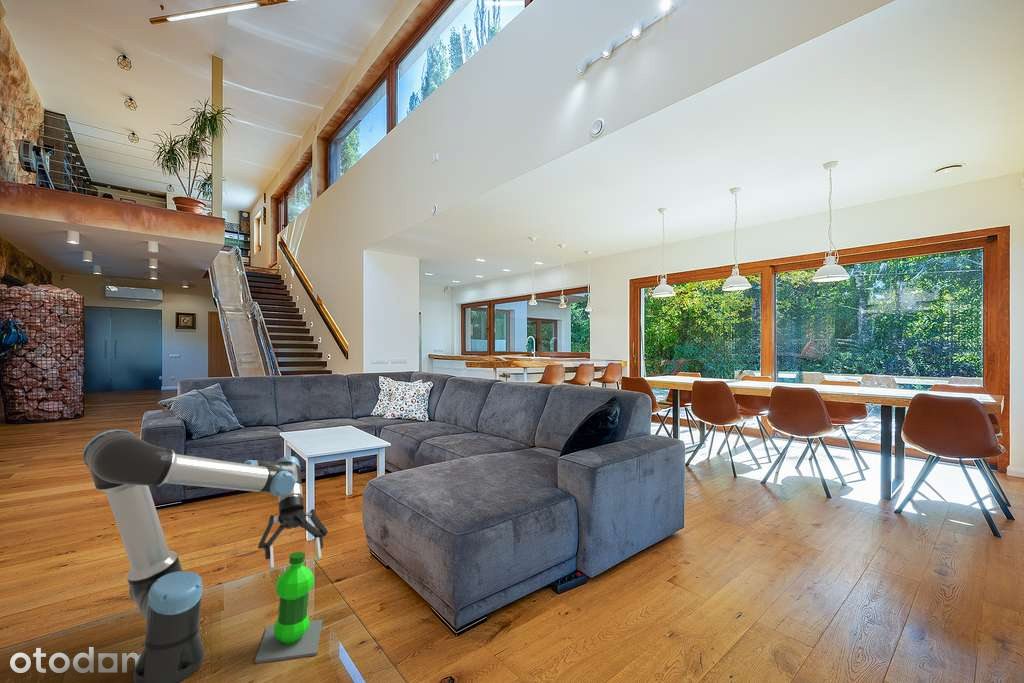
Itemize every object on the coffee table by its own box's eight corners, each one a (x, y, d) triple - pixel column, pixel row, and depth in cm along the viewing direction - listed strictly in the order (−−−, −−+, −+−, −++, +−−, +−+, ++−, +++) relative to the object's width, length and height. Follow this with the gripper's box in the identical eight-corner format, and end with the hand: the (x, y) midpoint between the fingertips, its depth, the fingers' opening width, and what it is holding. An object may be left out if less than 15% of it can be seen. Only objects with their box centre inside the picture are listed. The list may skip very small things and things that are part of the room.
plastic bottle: (306, 624, 139) (312, 544, 140) (311, 643, 130) (317, 559, 131) (270, 632, 134) (277, 550, 135) (273, 654, 125) (280, 566, 126)
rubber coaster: (254, 663, 122) (254, 660, 122) (267, 628, 137) (267, 625, 137) (316, 655, 127) (317, 652, 127) (322, 621, 142) (322, 619, 142)
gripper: (326, 500, 159) (334, 559, 147) (247, 511, 144) (248, 578, 132) (331, 490, 155) (340, 550, 143) (250, 500, 140) (252, 568, 128)
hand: (296, 563), depth 138 cm, fingers open, 13 cm apart
